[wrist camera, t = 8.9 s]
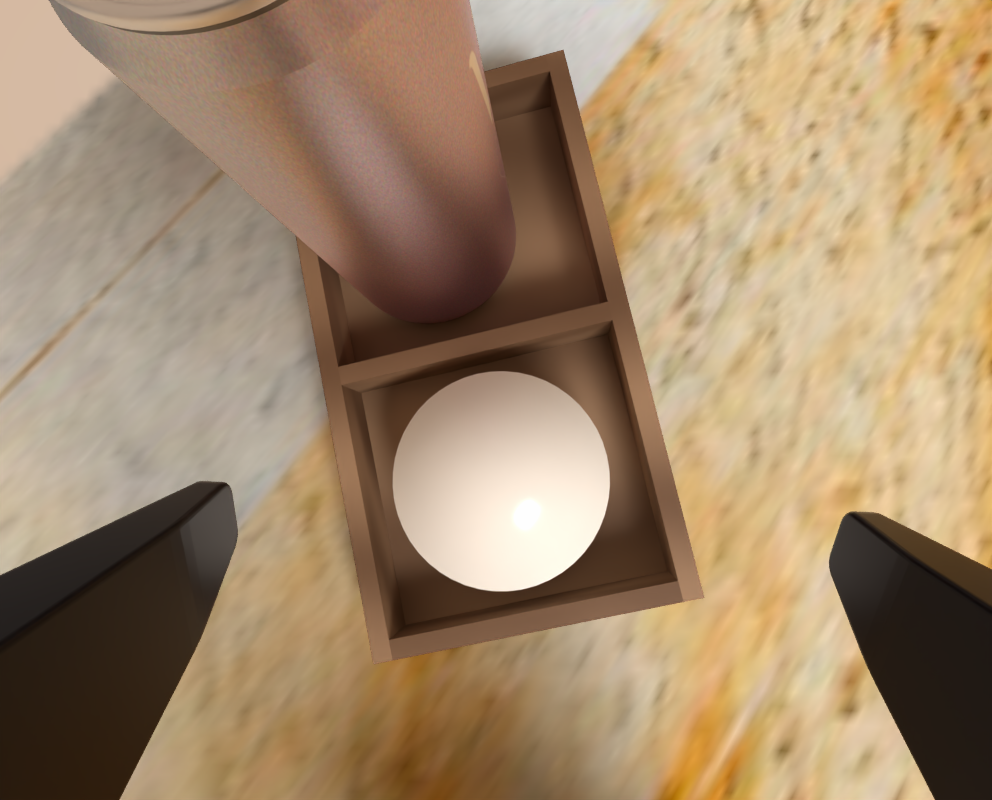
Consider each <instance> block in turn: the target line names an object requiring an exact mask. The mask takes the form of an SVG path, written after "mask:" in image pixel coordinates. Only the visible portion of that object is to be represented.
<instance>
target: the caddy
mask: <svg viewBox="0 0 992 800" xmlns="http://www.w3.org/2000/svg"><path fill="white" fill-rule="evenodd" d="M484 74H485V79H486V84H487V89H488V94H489V98H490V103H491V108H492V113H493V118H494V123H495V127H496V132H497V137H498V142H499V147H500V152H501V157H502V161H503V166H504V171H505V176H506V181H507V186H508V190H509V195H510V200H511V205H512V210H513V215H514V220H515V226H516V245H515V252H514V256H513V260H512V263H511V266H510V268H509V270H508V273H507V275H506V276H505V278H504V280H503V282H502V283H501V285H500V286H499V287H498V289H497V290H496V291H495V292H494V293H493V294H492V296H491V297H490V298H489V299H487V300H486V301H485V302H484V303H483V304H482V305H480V306H479V307H477V308H476V309H474V310H473V311H471V312H469V313H467V314H465V315H463V316H461V317H459V318H456V319H453V320H449V321H445V322H440V323H428V324H423V323H414V322H408V321H404V320H401V319H398V318H395V317H393V316H391V315H389V314H387V313H385V312H383V311H382V310H380V309H379V308H378V307H376V306H375V305H374V304H373V303H371V302H370V301H369V300H368V299H367V298H366V297H365V296H364V295H362V294H361V293H360V292H359V291H358V290H357V289H356V288H355V287H353V286H352V285H351V284H350V283H349V282H348V281H347V280H346V279H344V278H343V277H342V276H341V275H340V274H339V273H338V272H336V271H335V270H334V269H333V268H332V267H331V266H330V265H329V264H327V263H326V262H325V261H324V260H323V259H322V258H321V257H320V256H318V255H317V254H316V253H315V252H314V251H313V250H312V249H311V248H309V247H308V246H307V245H306V244H305V243H304V242H303V241H302V240H300V239H299V238H298V237H297V236H296V240H297V246H298V251H299V257H300V262H301V268H302V273H303V279H304V284H305V290H306V295H307V301H308V306H309V312H310V317H311V323H312V328H313V334H314V339H315V345H316V350H317V356H318V361H319V367H320V372H321V378H322V383H323V389H324V394H325V400H326V405H327V411H328V416H329V422H330V427H331V433H332V438H333V444H334V449H335V455H336V460H337V466H338V471H339V477H340V482H341V488H342V493H343V499H344V504H345V510H346V515H347V521H348V526H349V532H350V537H351V543H352V548H353V554H354V560H355V565H356V571H357V576H358V582H359V587H360V593H361V598H362V604H363V609H364V615H365V620H366V626H367V631H368V637H369V642H370V648H371V653H372V659H373V664H377V663H382V662H387V661H392V660H397V659H402V658H407V657H412V656H417V655H422V654H427V653H432V652H437V651H442V650H447V649H452V648H457V647H462V646H467V645H472V644H476V643H481V642H486V641H491V640H496V639H501V638H506V637H511V636H516V635H521V634H526V633H531V632H536V631H541V630H546V629H551V628H556V627H561V626H566V625H571V624H576V623H581V622H586V621H591V620H596V619H601V618H606V617H611V616H616V615H621V614H626V613H631V612H635V611H640V610H645V609H650V608H655V607H660V606H665V605H670V604H675V603H680V602H685V601H690V600H695V599H700V598H704V595H703V591H702V587H701V583H700V579H699V575H698V571H697V568H696V564H695V560H694V556H693V552H692V548H691V544H690V540H689V536H688V533H687V529H686V525H685V521H684V517H683V513H682V509H681V505H680V501H679V498H678V494H677V490H676V486H675V482H674V478H673V474H672V470H671V466H670V463H669V459H668V455H667V451H666V447H665V443H664V439H663V435H662V431H661V428H660V424H659V420H658V416H657V412H656V408H655V404H654V400H653V396H652V393H651V389H650V385H649V381H648V377H647V373H646V369H645V365H644V361H643V358H642V354H641V350H640V346H639V342H638V338H637V334H636V330H635V326H634V323H633V319H632V315H631V311H630V307H629V303H628V299H627V295H626V291H625V288H624V284H623V280H622V276H621V272H620V268H619V264H618V260H617V256H616V253H615V249H614V245H613V241H612V237H611V233H610V229H609V225H608V221H607V218H606V214H605V210H604V206H603V202H602V198H601V194H600V190H599V186H598V182H597V179H596V175H595V171H594V167H593V163H592V159H591V155H590V151H589V147H588V144H587V140H586V136H585V132H584V128H583V124H582V120H581V116H580V112H579V109H578V105H577V101H576V97H575V93H574V89H573V85H572V81H571V77H570V74H569V70H568V66H567V62H566V58H565V54H564V50H561V51H557V52H553V53H550V54H546V55H543V56H539V57H535V58H532V59H528V60H525V61H521V62H517V63H514V64H510V65H507V66H503V67H499V68H496V69H492V70H488V71H485V72H484ZM495 371H508V372H518V373H523V374H527V375H531V376H534V377H537V378H540V379H542V380H545V381H547V382H549V383H551V384H552V385H554V386H556V387H558V388H559V389H561V390H562V391H564V392H565V393H566V394H568V395H569V396H570V397H571V398H573V399H574V400H575V401H576V402H577V403H578V404H579V405H580V406H581V407H582V409H583V410H584V411H585V412H586V413H587V415H588V416H589V417H590V419H591V420H592V422H593V424H594V425H595V427H596V428H597V430H598V433H599V435H600V437H601V439H602V442H603V445H604V448H605V451H606V454H607V459H608V465H609V473H610V489H609V499H608V504H607V508H606V512H605V516H604V518H603V521H602V524H601V526H600V529H599V530H598V532H597V534H596V536H595V538H594V540H593V541H592V543H591V544H590V545H589V547H588V548H587V549H586V551H585V552H584V553H583V554H582V555H581V557H580V558H579V559H578V560H577V561H576V562H575V563H574V564H573V565H571V566H570V567H569V568H567V569H566V570H565V571H564V572H562V573H561V574H559V575H557V576H556V577H554V578H552V579H551V580H549V581H546V582H544V583H541V584H539V585H537V586H533V587H530V588H526V589H522V590H514V591H488V590H481V589H477V588H473V587H470V586H466V585H463V584H461V583H459V582H457V581H454V580H452V579H450V578H449V577H447V576H445V575H444V574H442V573H440V572H439V571H438V570H436V569H435V568H434V567H433V566H431V565H430V564H429V563H428V562H427V561H426V560H425V559H424V558H423V557H422V556H421V555H420V554H419V553H418V551H417V550H416V549H415V547H414V546H413V545H412V543H411V542H410V540H409V538H408V537H407V535H406V533H405V531H404V529H403V527H402V525H401V522H400V519H399V517H398V514H397V510H396V506H395V502H394V494H393V468H394V461H395V456H396V452H397V449H398V445H399V443H400V440H401V438H402V435H403V433H404V431H405V429H406V428H407V426H408V424H409V422H410V421H411V419H412V418H413V416H414V415H415V414H416V412H417V411H418V410H419V409H420V408H421V407H422V406H423V405H424V403H425V402H426V401H427V400H428V399H430V398H431V397H432V396H433V395H435V394H436V393H437V392H438V391H440V390H441V389H443V388H445V387H446V386H448V385H449V384H451V383H453V382H456V381H458V380H460V379H462V378H465V377H468V376H472V375H475V374H479V373H486V372H495Z"/></svg>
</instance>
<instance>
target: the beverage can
mask: <svg viewBox="0 0 992 800" xmlns="http://www.w3.org/2000/svg"><path fill="white" fill-rule="evenodd" d="M49 1H50V3H51V5H52V7H53V8H54V10H55V12H56V13H57V15H58V16H59V18H60V20H61V21H62V23H63V24H64V25H65V27H66V28H67V29H68V31H69V32H70V33H71V34H72V36H73V37H74V38H75V39H76V40H77V41H78V42H79V43H80V44H81V45H82V46H83V47H84V48H85V49H86V50H88V51H89V52H90V53H91V54H92V55H93V56H94V57H95V58H97V59H98V60H99V61H100V62H101V63H102V64H103V65H104V66H106V67H107V68H108V69H109V70H110V71H111V72H112V73H113V74H115V75H116V76H117V77H118V78H119V79H120V80H121V81H122V82H124V83H125V84H126V85H127V86H128V87H129V88H130V89H131V90H133V91H134V92H135V93H136V94H137V95H138V96H139V97H140V98H142V99H143V100H144V101H145V102H146V103H147V104H148V105H149V106H151V107H152V108H153V109H154V110H155V111H156V112H157V113H158V114H160V115H161V116H162V117H163V118H164V119H165V120H166V121H167V122H169V123H170V124H171V125H172V126H173V127H174V128H175V129H177V130H178V131H179V132H180V133H181V134H182V135H183V136H184V137H186V138H187V139H188V140H189V141H190V142H191V143H192V144H193V145H195V146H196V147H197V148H198V149H199V150H200V151H201V152H202V153H204V154H205V155H206V156H207V157H208V158H209V159H210V160H211V161H213V162H214V163H215V164H216V165H217V166H218V167H219V168H220V169H222V170H223V171H224V172H225V173H226V174H227V175H228V176H229V177H231V178H232V179H233V180H234V181H235V182H236V183H237V184H238V185H240V186H241V187H242V188H243V189H244V190H245V191H246V192H247V193H249V194H250V195H251V196H252V197H253V198H254V199H255V200H257V201H258V202H259V203H260V204H261V205H262V206H263V207H264V208H266V209H267V210H268V211H269V212H270V213H271V214H272V215H273V216H275V217H276V218H277V219H278V220H279V221H280V222H281V223H282V224H284V225H285V226H286V227H287V228H288V229H289V230H290V231H291V232H293V233H294V234H295V235H296V236H297V237H298V238H299V239H300V240H302V241H303V242H304V243H305V244H306V245H307V246H308V247H309V248H311V249H312V250H313V251H314V252H315V253H316V254H317V255H318V256H320V257H321V258H322V259H323V260H324V261H325V262H326V263H327V264H329V265H330V266H331V267H332V268H333V269H334V270H335V271H336V272H338V273H339V274H340V275H341V276H342V277H343V278H344V279H346V280H347V281H348V282H349V283H350V284H351V285H352V286H353V287H355V288H356V289H357V290H358V291H359V292H360V293H361V294H362V295H364V296H365V297H366V298H367V299H368V300H369V301H370V302H371V303H373V304H374V305H375V306H376V307H378V308H379V309H380V310H382V311H383V312H385V313H387V314H389V315H391V316H393V317H395V318H398V319H401V320H404V321H408V322H414V323H423V324H428V323H440V322H445V321H449V320H453V319H456V318H459V317H461V316H463V315H465V314H467V313H469V312H471V311H473V310H474V309H476V308H477V307H479V306H480V305H482V304H483V303H484V302H485V301H486V300H487V299H489V298H490V297H491V296H492V294H493V293H494V292H495V291H496V290H497V289H498V287H499V286H500V285H501V283H502V282H503V280H504V278H505V276H506V275H507V273H508V270H509V268H510V266H511V263H512V260H513V256H514V252H515V245H516V226H515V220H514V215H513V210H512V205H511V200H510V195H509V190H508V186H507V181H506V176H505V171H504V166H503V161H502V157H501V152H500V147H499V142H498V137H497V132H496V127H495V123H494V118H493V113H492V108H491V103H490V98H489V94H488V89H487V84H486V79H485V74H484V69H483V65H482V60H481V55H480V50H479V45H478V40H477V35H476V31H475V26H474V21H473V16H472V11H471V6H470V2H469V0H49Z"/></svg>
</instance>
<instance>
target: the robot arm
mask: <svg viewBox="0 0 992 800" xmlns="http://www.w3.org/2000/svg"><path fill="white" fill-rule="evenodd" d="M237 537H238V528H237V521H236V515H235V508H234V502H233V495H232V490H231V488H230V486H229V485H228V484H227V483H225V482H211V481H199V482H196V483H194V484H192V485H190V486H188V487H186V488H183V489H181V490H179V491H177V492H175V493H173V494H171V495H169V496H167V497H164V498H162V499H160V500H158V501H156V502H154V503H152V504H150V505H148V506H145V507H143V508H141V509H139V510H137V511H135V512H133V513H131V514H129V515H127V516H124V517H122V518H120V519H118V520H116V521H114V522H112V523H110V524H108V525H105V526H103V527H101V528H99V529H97V530H95V531H93V532H91V533H89V534H86V535H84V536H82V537H80V538H78V539H76V540H74V541H72V542H70V543H67V544H65V545H63V546H61V547H59V548H57V549H55V550H53V551H51V552H48V553H46V554H44V555H42V556H40V557H38V558H36V559H34V560H32V561H29V562H27V563H25V564H23V565H21V566H19V567H17V568H15V569H13V570H10V571H8V572H6V573H4V574H2V575H0V800H119V799H120V797H121V796H122V794H123V792H124V790H125V788H126V786H127V784H128V782H129V780H130V778H131V776H132V774H133V772H134V770H135V768H136V766H137V764H138V762H139V760H140V758H141V756H142V754H143V752H144V750H145V748H146V746H147V744H148V742H149V740H150V738H151V736H152V734H153V732H154V730H155V728H156V726H157V725H158V723H159V721H160V719H161V717H162V715H163V713H164V711H165V709H166V707H167V705H168V703H169V701H170V699H171V697H172V695H173V693H174V691H175V689H176V687H177V685H178V683H179V681H180V679H181V677H182V675H183V673H184V671H185V669H186V667H187V665H188V663H189V661H190V659H191V657H192V655H193V653H194V651H195V649H196V647H197V645H198V643H199V641H200V639H201V637H202V634H203V632H204V629H205V627H206V624H207V622H208V619H209V616H210V614H211V611H212V608H213V606H214V603H215V600H216V598H217V595H218V592H219V590H220V587H221V584H222V581H223V579H224V576H225V573H226V571H227V568H228V565H229V563H230V560H231V557H232V555H233V552H234V549H235V546H236V543H237ZM829 568H830V573H831V576H832V578H833V581H834V584H835V586H836V589H837V591H838V594H839V596H840V599H841V602H842V604H843V607H844V609H845V612H846V614H847V617H848V620H849V622H850V625H851V627H852V630H853V633H854V635H855V638H856V640H857V643H858V645H859V648H860V651H861V653H862V655H863V658H864V660H865V662H866V665H867V667H868V669H869V671H870V673H871V675H872V677H873V680H874V682H875V684H876V686H877V688H878V690H879V692H880V693H881V695H882V697H883V699H884V701H885V703H886V705H887V707H888V709H889V711H890V713H891V715H892V717H893V719H894V721H895V723H896V725H897V727H898V729H899V731H900V733H901V735H902V736H903V738H904V740H905V742H906V744H907V746H908V748H909V750H910V752H911V754H912V756H913V758H914V760H915V762H916V764H917V766H918V768H919V770H920V772H921V774H922V776H923V777H924V779H925V781H926V783H927V785H928V787H929V789H930V791H931V793H932V795H933V797H934V799H935V800H992V569H990V568H988V567H986V566H984V565H982V564H980V563H978V562H976V561H974V560H972V559H970V558H968V557H966V556H964V555H962V554H960V553H958V552H956V551H954V550H952V549H950V548H948V547H946V546H944V545H942V544H940V543H938V542H936V541H934V540H932V539H930V538H928V537H926V536H924V535H922V534H920V533H918V532H916V531H914V530H911V529H909V528H907V527H905V526H903V525H901V524H899V523H897V522H895V521H893V520H891V519H889V518H887V517H885V516H883V515H881V514H879V513H874V512H849V513H847V514H846V515H845V516H844V517H843V519H842V521H841V524H840V527H839V530H838V533H837V536H836V539H835V542H834V545H833V548H832V551H831V554H830V559H829Z"/></svg>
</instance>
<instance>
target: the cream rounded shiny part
mask: <svg viewBox="0 0 992 800" xmlns="http://www.w3.org/2000/svg"><path fill="white" fill-rule="evenodd" d="M609 489H610V473H609V465H608V459H607V454H606V451H605V448H604V445H603V442H602V439H601V437H600V435H599V433H598V430H597V428H596V427H595V425H594V424H593V422H592V420H591V419H590V417H589V416H588V415H587V413H586V412H585V411H584V410H583V409H582V407H581V406H580V405H579V404H578V403H577V402H576V401H575V400H574V399H573V398H571V397H570V396H569V395H568V394H566V393H565V392H564V391H562V390H561V389H559V388H558V387H556V386H554V385H552V384H551V383H549V382H547V381H545V380H542V379H540V378H537V377H534V376H531V375H527V374H523V373H518V372H508V371H495V372H486V373H479V374H475V375H472V376H468V377H465V378H462V379H460V380H458V381H456V382H453V383H451V384H449V385H448V386H446V387H445V388H443V389H441V390H440V391H438V392H437V393H436V394H435V395H433V396H432V397H431V398H430V399H428V400H427V401H426V402H425V403H424V405H423V406H422V407H421V408H420V409H419V410H418V411H417V412H416V414H415V415H414V416H413V418H412V419H411V421H410V422H409V424H408V426H407V428H406V429H405V431H404V433H403V435H402V438H401V440H400V443H399V445H398V449H397V452H396V456H395V461H394V468H393V494H394V502H395V506H396V510H397V514H398V517H399V519H400V522H401V525H402V527H403V529H404V531H405V533H406V535H407V537H408V538H409V540H410V542H411V543H412V545H413V546H414V547H415V549H416V550H417V551H418V553H419V554H420V555H421V556H422V557H423V558H424V559H425V560H426V561H427V562H428V563H429V564H430V565H431V566H433V567H434V568H435V569H436V570H438V571H439V572H440V573H442V574H444V575H445V576H447V577H449V578H450V579H452V580H454V581H457V582H459V583H461V584H463V585H466V586H470V587H473V588H477V589H481V590H488V591H514V590H522V589H526V588H530V587H533V586H537V585H539V584H541V583H544V582H546V581H549V580H551V579H552V578H554V577H556V576H557V575H559V574H561V573H562V572H564V571H565V570H566V569H567V568H569V567H570V566H571V565H573V564H574V563H575V562H576V561H577V560H578V559H579V558H580V557H581V555H582V554H583V553H584V552H585V551H586V549H587V548H588V547H589V545H590V544H591V543H592V541H593V540H594V538H595V536H596V534H597V532H598V530H599V529H600V526H601V524H602V521H603V518H604V516H605V512H606V508H607V504H608V499H609Z"/></svg>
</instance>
